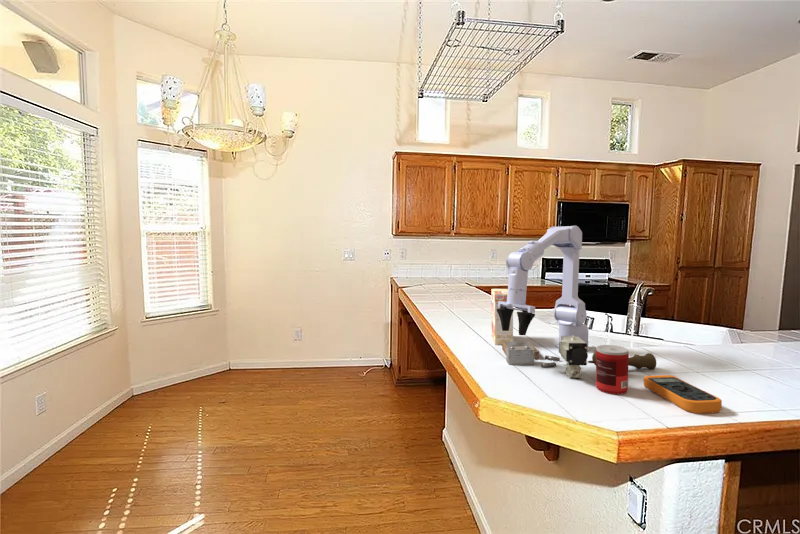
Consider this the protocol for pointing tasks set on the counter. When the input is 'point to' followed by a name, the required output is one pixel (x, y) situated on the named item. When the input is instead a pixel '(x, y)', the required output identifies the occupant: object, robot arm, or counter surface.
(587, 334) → the robot arm
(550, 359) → the bolt
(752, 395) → the counter surface
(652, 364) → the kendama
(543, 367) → the bolt
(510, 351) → the block
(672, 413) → the counter surface
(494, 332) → the coffeecake box
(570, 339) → the pneumatic valve
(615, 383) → the canned food
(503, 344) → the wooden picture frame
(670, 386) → the multimeter
